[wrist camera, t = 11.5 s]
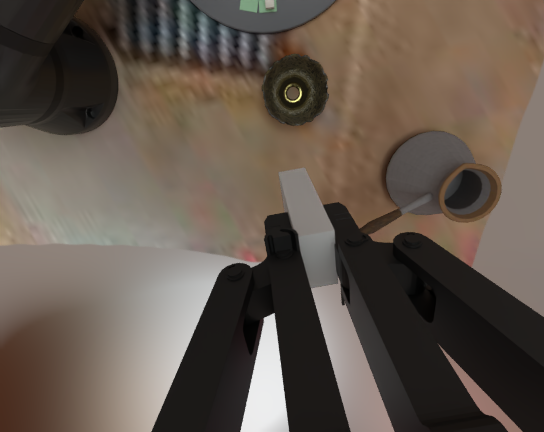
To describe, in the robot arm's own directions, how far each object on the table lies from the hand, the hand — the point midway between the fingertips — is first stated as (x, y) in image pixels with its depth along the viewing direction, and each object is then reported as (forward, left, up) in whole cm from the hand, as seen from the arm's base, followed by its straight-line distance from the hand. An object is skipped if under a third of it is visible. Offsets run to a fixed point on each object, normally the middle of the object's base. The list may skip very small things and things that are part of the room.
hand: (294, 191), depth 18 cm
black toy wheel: (+1, +6, -28) cm, 29 cm away
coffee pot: (+15, -6, -28) cm, 32 cm away
